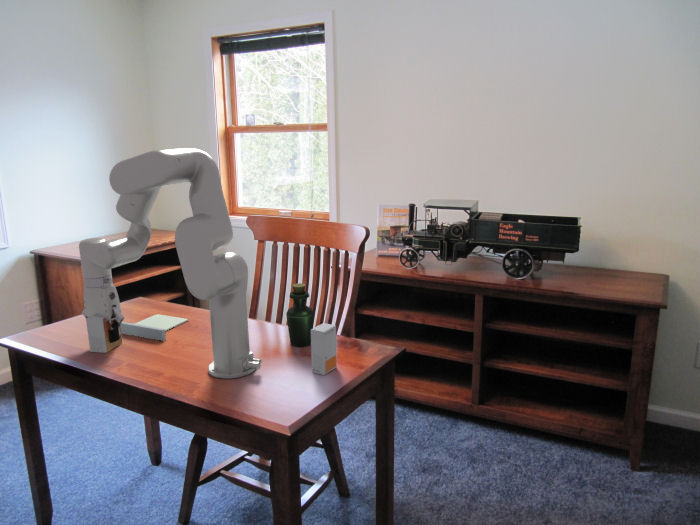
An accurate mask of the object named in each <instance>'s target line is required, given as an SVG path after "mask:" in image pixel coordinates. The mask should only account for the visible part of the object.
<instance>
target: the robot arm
mask: <svg viewBox="0 0 700 525" xmlns="http://www.w3.org/2000/svg"><path fill="white" fill-rule="evenodd" d="M108 178H109V185H110V187H111V189H112V190H113V191H114V193H116V194H118V195H119V196H118V200H117V203H116V205H115V211H116V213H117V214H118V215H119V216H120V217H121V218H122V219H124V220H126V221H127V222H130V226H129V228H128V231H127V233H126V235H125V236H122V237H118V238H115V239H110V240H107V239H105V238H101V237H93V238H85V239H83V240H81V241H80V242H79V243H78V248H79V249H78V250H79V256H80V263H81V271H82V272H81V273H82V279H83V307H84V308H83V310H81V314H82V315H83V317H84V318H85V319H86V318H88V317H90V316H97V317H103V318H105V320H106V321H107V323H108V326H109V329H110V330H108V333H109V341H110V343H113V342H115V341H118V340H119V339H120V337H119V329H118V327H120V324H121V323H122V322H124V319H125V316H124V315H123V314H122V308H121V302H120V298H119V294H118V290H117V288H116V285H115V284H114V283H113V282H114V279H113V276H112V269H115V268H118V267H121V266H124V265H127V264H129V263H133V262H136V261H138V260H140V259H141V257H142V256H143V255H144V254H145V252H146V249H147V247H148V246H149V243H150V241H151V238H152V225H151V222H150V219H149V216H150V213H151V211H152V209H153V207H154V204H155V202H156V199H157V197H158V195H159V192H160V190H161V188H162V186H170V185H176V184H182V183H190V186H189V191H188V200H189V205H190V208H191V212H192V215H191V216H188V217H186V218H184V219H182V220H181V221H180V222H179V223H178V225H177V227H176V229H175V232H174V243H175V244H174V245H175V248H176V252H177V256H178V259H179V263H180V268H181V271H182V274H183V278H184V282H185V285H186V287H187V290H188V291H189V292H190V293H191V295H192V296H193V297H195V298H196V299H198V300H201V301H209V321H210V329H211V330H210V332H211V333H210V334H211V343H212V345H211V346H212V355H213V356H212V358H213V361H212V362H211V363H209V365H208V366H207V369H208V370H207V371H208V374H209V375H210V376H212V377H214V378H218V379H228V380H229V379H238V378H242V377H244V376H247V375H250V374H252V373H253V372H255V371H256V370H257V371H259V370H260V369H261V364H262V362H263V361H262V359H261V358H255V357H254V351H251V348H250V332H249V320H248V302H247V300H248V299H247V298H248V297H247V296H248V294H247V292H248V285H249V284H248V282H249V267H248V264H247V261H246V260H245V259H244V258H243V257H242V256H241V255H240V254H238V253H236V252H231V251H228V252H227V251H226V252H223V253H219V254H216V255H214V251H217V250H220V249H222V248H224V247H226V246H229V245H230V243H231V242H232V241H233V238H234V232H233V226H232V222H231V218H230V214H229V211H228V206H227V203H226V198H225V195H224V192H223V186H222V180H221V174H220V170H219V167H218V165H217V163H216V161H215V160H214V158H213V157H212V156H211V155H210V154H209V153H207V152H206V151H203V150H201V149H198V148H191V147H182V148H168V149H157V150H155V149H154V150H151V151H147V152H144V153H142V154H139V155H135V156H133V157H132V156H131V157H130V158H126V159H123V160H121V161H119V162H117V163H115V165H113V167H112V169H111V170H110V173H109V177H108ZM111 316H112V318H111ZM112 320H113V322H114V323H113V324H112V323H111V321H112Z"/></svg>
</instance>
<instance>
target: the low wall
mask: <svg viewBox="0 0 700 525" xmlns="http://www.w3.org/2000/svg"><path fill="white" fill-rule="evenodd" d="M120 326H121V333H122V334H121V335H127V334H128V336H132V335H134V336H133V337H138V336H139V338H143V337H144V339H149V340H154V339H155V341H159V340H161V341H162V342H165V341H166V340H167V338H166V336H167V335H166V332H165V329H162V328H156V327H150V326H144V325H138V324H135V323H133V322H131V323H130V322H128V321H127V322H125V321H122V323H121V324H120ZM161 341H160V342H161Z"/></svg>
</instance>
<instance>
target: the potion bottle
mask: <svg viewBox="0 0 700 525" xmlns="http://www.w3.org/2000/svg"><path fill="white" fill-rule="evenodd" d="M292 289H293V291H290V294H289V296H288V297H289V299H292V301H293V304H294V305H293V306H292V307H290V308H288V309H287V311H286V321H287V330H288V336H289V342H290V343H289V344H291V346H293V347H297V348H305V347H308V346H311V329H313V328H314V314H315V313H314V310H313V308H311V306H308V305H306V299H308V298H310V293H309V291H307V290H306V284H305V283H301V282H300V283H294V284H292Z"/></svg>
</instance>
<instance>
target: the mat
mask: <svg viewBox="0 0 700 525" xmlns="http://www.w3.org/2000/svg"><path fill="white" fill-rule="evenodd" d="M188 320H189V321H190V319H189V318H183V317H178V316H171V315H164V314H158V313H157V314H154V315H151V316H149V317H147V318H144V319H142V320H139V321H138V322H134V324H138V325H144V326H150V327H156V328H162V329H165V331H166V332H168V331H170V330H169V329H171V328H173V327H175V328H177V327H179V326H181V325H183V324H185V323H187V322H186V321H188ZM189 321H188V322H189ZM184 322H185V323H184ZM182 323H183V324H182ZM180 324H181V325H180ZM178 325H179V326H178ZM176 326H177V327H176ZM173 329H174V328H173ZM167 330H168V331H167ZM171 330H172V329H171Z"/></svg>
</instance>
